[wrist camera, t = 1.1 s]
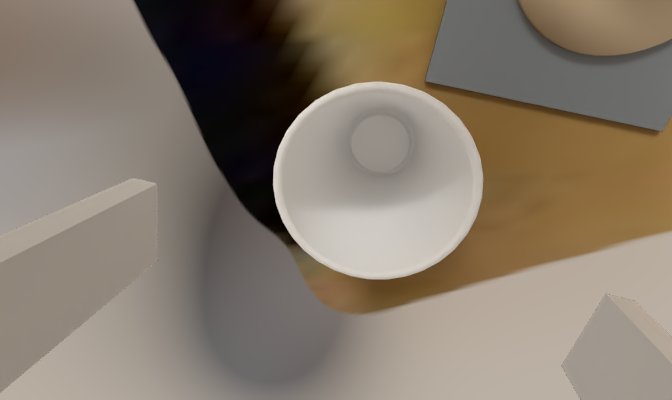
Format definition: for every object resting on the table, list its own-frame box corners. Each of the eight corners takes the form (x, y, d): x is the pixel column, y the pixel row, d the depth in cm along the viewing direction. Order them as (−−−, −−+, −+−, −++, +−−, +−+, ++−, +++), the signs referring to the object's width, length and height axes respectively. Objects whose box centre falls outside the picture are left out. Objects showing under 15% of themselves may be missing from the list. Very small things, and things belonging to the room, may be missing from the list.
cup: (462, 180, 26) (506, 253, 16) (343, 217, 29) (318, 299, 19) (424, 51, 24) (449, 41, 13) (296, 104, 26) (237, 130, 16)
